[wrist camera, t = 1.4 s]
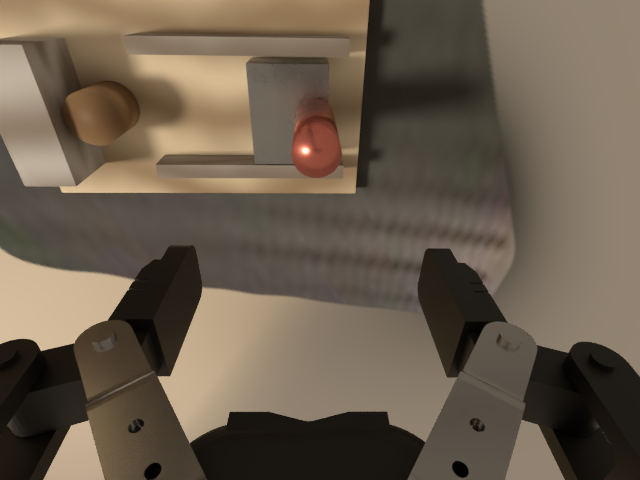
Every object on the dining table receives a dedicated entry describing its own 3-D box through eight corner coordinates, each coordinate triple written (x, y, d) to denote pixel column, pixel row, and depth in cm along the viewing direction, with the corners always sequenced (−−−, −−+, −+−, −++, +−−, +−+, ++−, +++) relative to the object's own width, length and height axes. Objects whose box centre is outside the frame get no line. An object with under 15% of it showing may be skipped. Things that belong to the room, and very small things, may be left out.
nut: (82, 80, 29) (53, 90, 26) (132, 80, 30) (110, 91, 26) (98, 129, 32) (73, 145, 28) (145, 130, 32) (125, 145, 28)
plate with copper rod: (251, 57, 29) (223, 86, 20) (333, 58, 29) (345, 87, 20) (258, 151, 33) (239, 210, 24) (330, 151, 33) (339, 210, 24)
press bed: (-11, -12, 27) (-86, -13, 22) (367, -5, 28) (381, -6, 23) (68, 187, 36) (28, 219, 31) (354, 187, 37) (361, 219, 31)
